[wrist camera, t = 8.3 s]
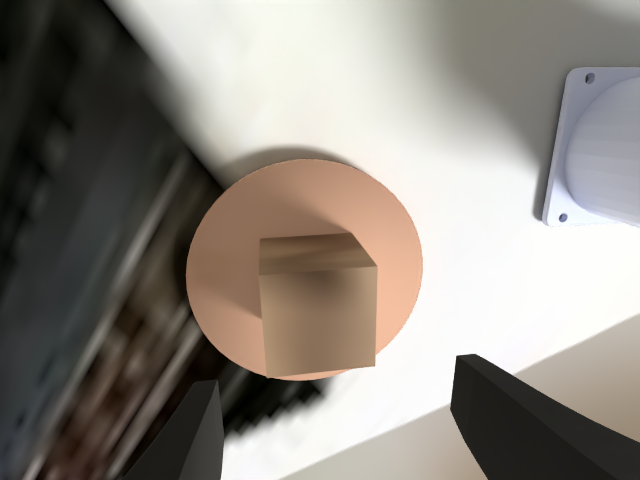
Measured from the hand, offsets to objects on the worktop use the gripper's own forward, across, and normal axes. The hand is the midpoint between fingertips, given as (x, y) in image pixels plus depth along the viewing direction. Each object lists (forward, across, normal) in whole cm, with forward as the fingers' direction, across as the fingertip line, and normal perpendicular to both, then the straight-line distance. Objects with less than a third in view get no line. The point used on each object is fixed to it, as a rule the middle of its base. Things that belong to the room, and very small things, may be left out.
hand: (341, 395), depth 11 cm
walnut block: (+8, 0, 0) cm, 8 cm away
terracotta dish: (+9, 0, 0) cm, 9 cm away
